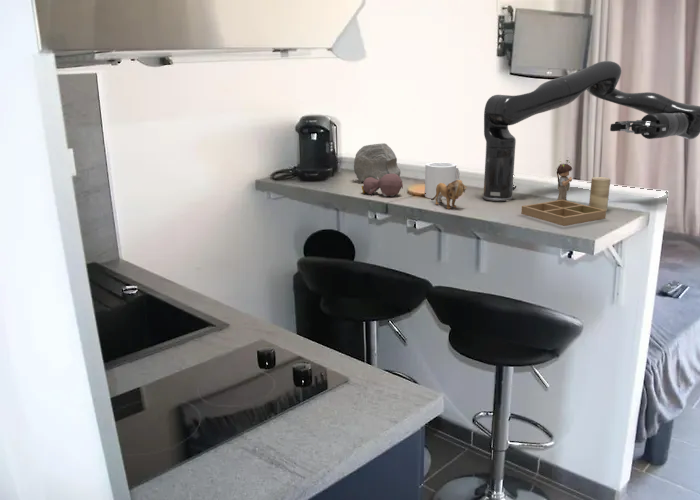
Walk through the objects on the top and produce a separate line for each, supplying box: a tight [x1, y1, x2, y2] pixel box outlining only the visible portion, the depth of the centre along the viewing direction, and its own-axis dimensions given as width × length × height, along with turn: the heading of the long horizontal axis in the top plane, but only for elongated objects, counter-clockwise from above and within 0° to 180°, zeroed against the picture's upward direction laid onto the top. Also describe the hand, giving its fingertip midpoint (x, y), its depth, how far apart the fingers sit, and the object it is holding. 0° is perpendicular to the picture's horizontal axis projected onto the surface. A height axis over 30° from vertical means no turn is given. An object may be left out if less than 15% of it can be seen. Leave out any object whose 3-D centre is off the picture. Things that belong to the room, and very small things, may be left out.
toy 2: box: [554, 157, 573, 201], centre depth 199 cm, size 6×6×15 cm
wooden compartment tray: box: [520, 199, 607, 227], centre depth 183 cm, size 16×16×3 cm
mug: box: [424, 161, 461, 200], centre depth 213 cm, size 14×10×11 cm
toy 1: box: [361, 173, 404, 198], centre depth 216 cm, size 8×8×15 cm
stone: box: [353, 142, 402, 182], centre depth 234 cm, size 19×7×15 cm, turn 53°
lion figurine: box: [430, 179, 468, 210], centre depth 199 cm, size 15×5×9 cm, turn 33°
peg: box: [588, 176, 611, 212], centre depth 189 cm, size 5×5×10 cm
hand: (623, 129), depth 188 cm, fingers open, 8 cm apart
